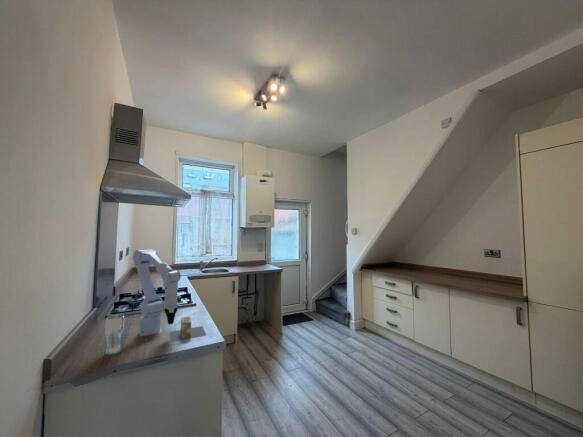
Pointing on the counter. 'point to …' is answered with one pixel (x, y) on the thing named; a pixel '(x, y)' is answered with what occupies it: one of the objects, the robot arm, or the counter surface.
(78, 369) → the counter surface
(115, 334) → the beer glass
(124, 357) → the counter surface
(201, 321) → the counter surface
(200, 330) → the rubber mat
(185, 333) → the mottled beige block
